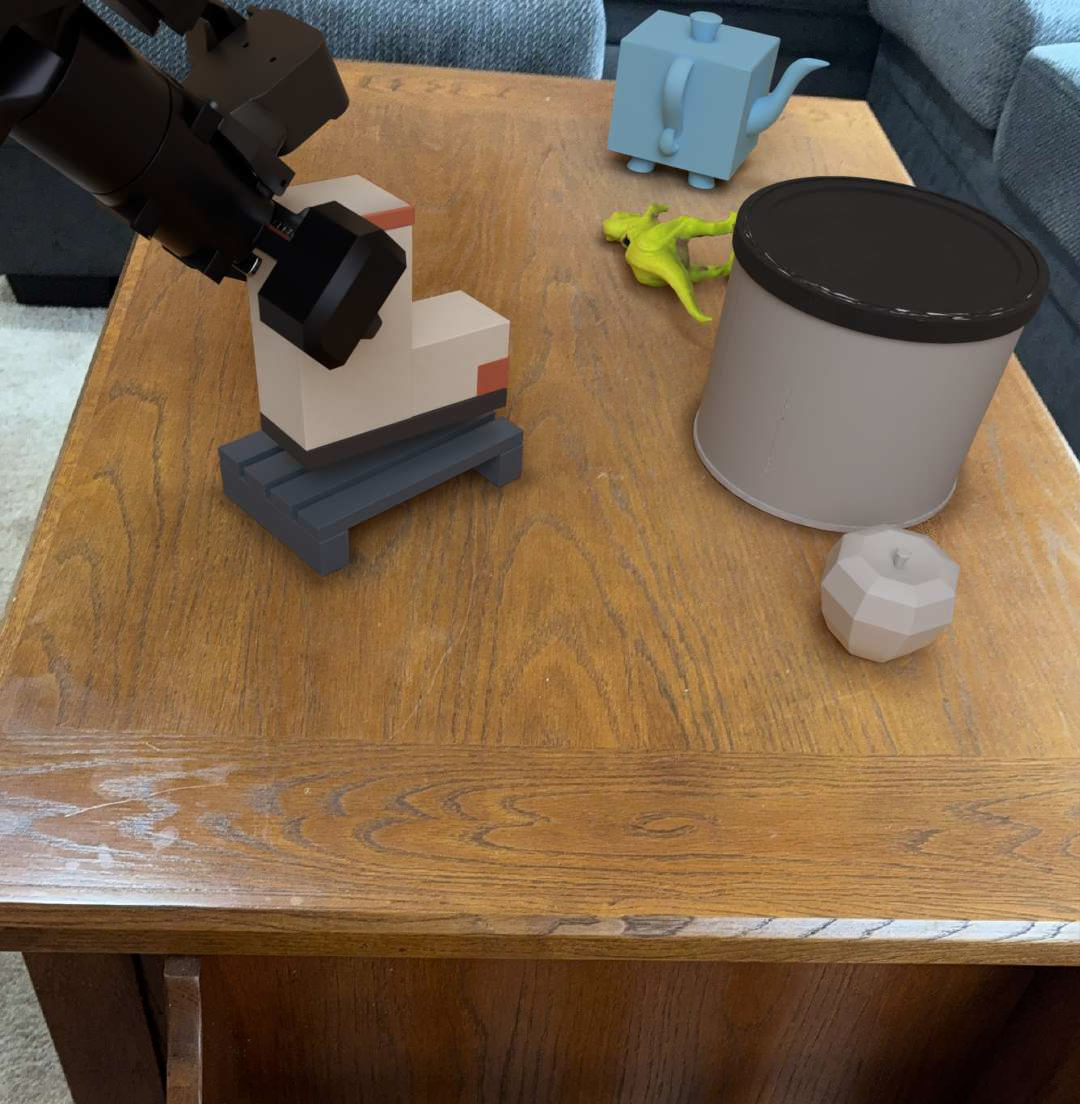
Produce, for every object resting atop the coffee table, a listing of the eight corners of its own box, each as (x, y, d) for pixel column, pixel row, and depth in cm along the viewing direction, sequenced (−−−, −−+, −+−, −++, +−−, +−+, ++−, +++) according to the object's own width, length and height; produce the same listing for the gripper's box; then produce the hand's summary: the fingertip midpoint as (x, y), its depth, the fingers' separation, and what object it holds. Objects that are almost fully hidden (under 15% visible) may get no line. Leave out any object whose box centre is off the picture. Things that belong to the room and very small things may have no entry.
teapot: (595, 176, 105) (614, 22, 96) (647, 124, 115) (669, -20, 106) (776, 224, 102) (815, 70, 92) (814, 166, 112) (852, 21, 102)
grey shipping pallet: (323, 577, 64) (319, 529, 62) (223, 494, 68) (216, 446, 66) (520, 476, 72) (525, 431, 70) (421, 408, 77) (421, 362, 74)
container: (667, 495, 72) (714, 275, 61) (713, 356, 85) (759, 152, 74) (955, 564, 70) (1058, 348, 59) (959, 411, 83) (1045, 209, 72)
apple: (787, 591, 67) (817, 503, 62) (912, 595, 68) (951, 509, 63) (816, 686, 62) (851, 599, 57) (951, 690, 63) (997, 603, 58)
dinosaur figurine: (800, 325, 89) (821, 250, 85) (698, 349, 85) (714, 272, 81) (664, 219, 100) (676, 148, 96) (568, 236, 96) (576, 163, 92)
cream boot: (307, 472, 61) (289, 231, 52) (259, 430, 64) (234, 195, 55) (507, 406, 68) (523, 184, 59) (457, 371, 71) (464, 154, 62)
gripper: (368, 22, 40) (550, 246, 54) (102, -106, 49) (320, 117, 62) (207, 285, 42) (424, 437, 56) (-24, 119, 50) (216, 288, 64)
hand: (344, 308), depth 60 cm, fingers closed on cream boot, 5 cm apart
